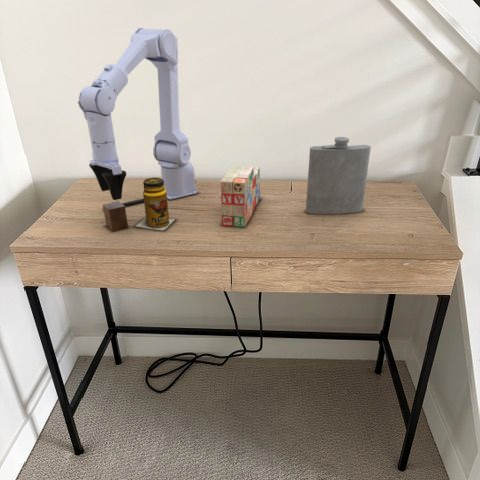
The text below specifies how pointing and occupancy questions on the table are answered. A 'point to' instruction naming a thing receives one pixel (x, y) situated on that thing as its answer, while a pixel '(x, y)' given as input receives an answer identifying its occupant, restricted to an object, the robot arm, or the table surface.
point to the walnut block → (115, 216)
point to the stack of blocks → (239, 195)
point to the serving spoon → (133, 202)
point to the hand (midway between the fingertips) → (111, 194)
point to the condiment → (155, 205)
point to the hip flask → (337, 178)
